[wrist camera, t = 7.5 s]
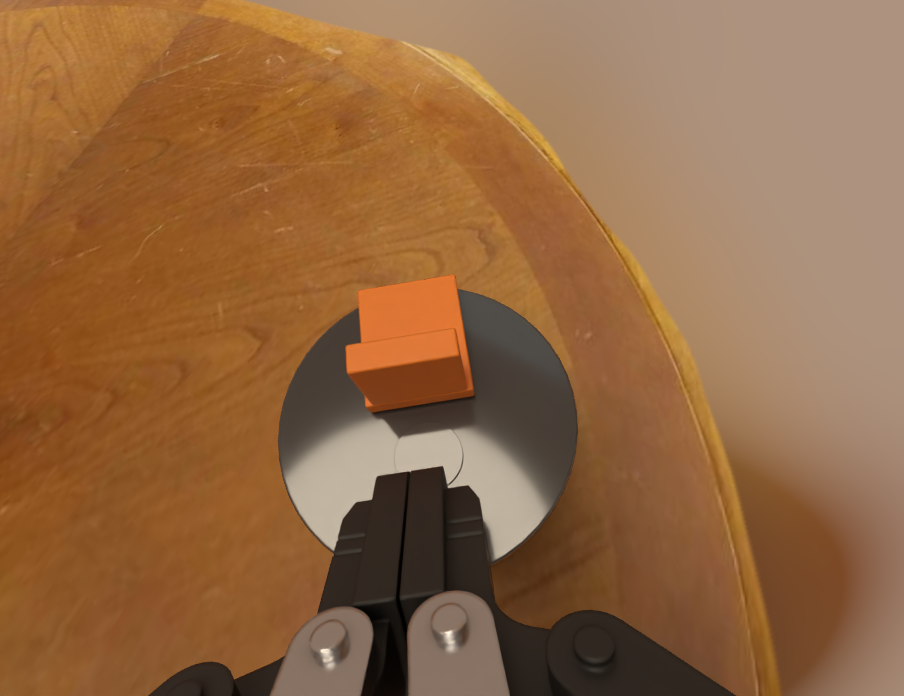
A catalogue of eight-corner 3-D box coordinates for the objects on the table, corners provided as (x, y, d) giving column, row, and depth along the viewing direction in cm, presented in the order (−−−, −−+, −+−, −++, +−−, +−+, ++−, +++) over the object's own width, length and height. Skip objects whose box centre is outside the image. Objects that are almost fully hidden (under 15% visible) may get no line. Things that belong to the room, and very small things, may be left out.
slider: (475, 396, 15) (468, 354, 12) (369, 413, 15) (337, 375, 12) (456, 283, 17) (446, 222, 14) (361, 299, 17) (331, 241, 14)
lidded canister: (565, 563, 24) (615, 555, 13) (377, 591, 24) (273, 606, 13) (527, 386, 27) (542, 264, 17) (365, 412, 28) (277, 309, 17)
